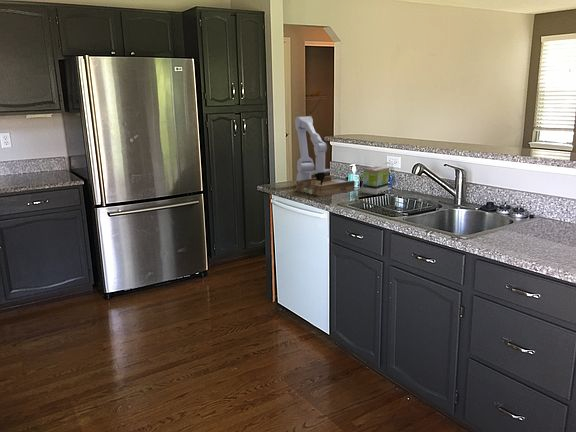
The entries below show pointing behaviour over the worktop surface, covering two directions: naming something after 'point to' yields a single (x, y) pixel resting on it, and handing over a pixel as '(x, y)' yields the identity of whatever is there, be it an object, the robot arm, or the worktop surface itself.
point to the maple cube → (316, 182)
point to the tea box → (375, 180)
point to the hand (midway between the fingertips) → (320, 185)
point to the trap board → (325, 187)
